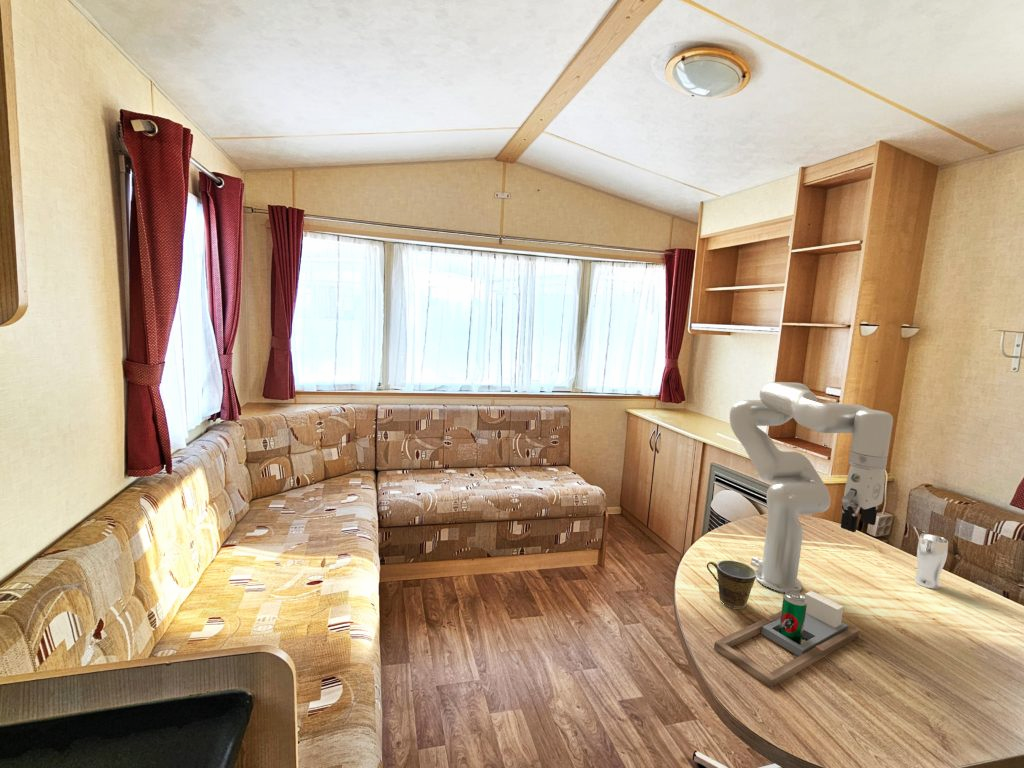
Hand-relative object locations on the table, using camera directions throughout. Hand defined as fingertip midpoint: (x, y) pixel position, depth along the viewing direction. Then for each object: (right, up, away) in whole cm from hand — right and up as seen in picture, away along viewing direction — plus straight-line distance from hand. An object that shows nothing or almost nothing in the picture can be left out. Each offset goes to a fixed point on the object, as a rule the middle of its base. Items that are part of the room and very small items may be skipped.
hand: (857, 526), depth 123 cm
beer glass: (+42, -27, +30) cm, 58 cm away
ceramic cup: (-26, -26, +16) cm, 40 cm away
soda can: (-18, -28, -2) cm, 33 cm away
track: (-18, -28, -2) cm, 33 cm away
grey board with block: (-12, -28, +2) cm, 30 cm away
